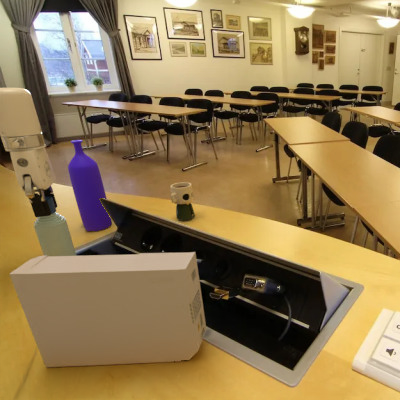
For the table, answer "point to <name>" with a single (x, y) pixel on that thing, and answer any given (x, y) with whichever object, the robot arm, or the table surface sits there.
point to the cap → (51, 204)
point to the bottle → (88, 190)
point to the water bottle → (54, 235)
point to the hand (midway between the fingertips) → (46, 211)
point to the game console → (112, 307)
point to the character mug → (183, 200)
